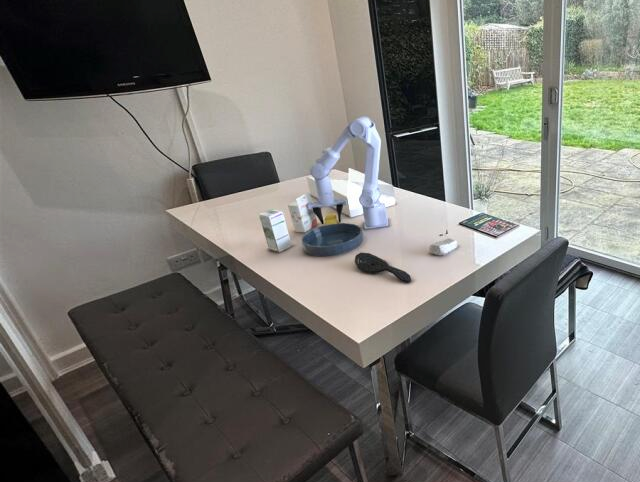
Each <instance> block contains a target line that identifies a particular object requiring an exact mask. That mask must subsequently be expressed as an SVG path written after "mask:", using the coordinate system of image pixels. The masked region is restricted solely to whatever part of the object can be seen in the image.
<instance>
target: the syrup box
mask: <svg viewBox="0 0 640 482" xmlns="http://www.w3.org/2000/svg"><path fill="white" fill-rule="evenodd" d="M258 217H259V220H260V224H261V227H262V229H263V230H262V231H263V233H264V238H265V241H266V243H267V247H268V250H269V251H273V252H277V253H281V252H284V251H285V250H287V249H290V248H291V247H292V242H291V238H290V234H289V230H288V227H287V223H286V218H285V216H284V211H282V210H278V209H269V210H265V211H263V212H261V213H259V214H258Z"/></svg>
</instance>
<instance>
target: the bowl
mask: <svg viewBox="0 0 640 482" xmlns="http://www.w3.org/2000/svg"><path fill="white" fill-rule="evenodd" d="M363 241H364V232H363V229H362V227H361V226H360V225H358V224H354V223H349V222H337V224H330V225H325V224H324V225H322V226H319V227H316V228H312V229H310V230H308V231H306V232H305V234H303V236H302V237H301V244H302V249H303V251H304V252H305V253H306V254H308V255H310V256H315V257H333V256H339V255H342V254H345V253H348V252H351V251H353V250H355V249H357V248H358V247H359V246H360V245H362V243H363Z"/></svg>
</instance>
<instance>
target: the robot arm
mask: <svg viewBox="0 0 640 482" xmlns="http://www.w3.org/2000/svg"><path fill="white" fill-rule="evenodd" d="M354 138H358V139H359V140H361V141H362V142H363V143H364V144H365V145H366V153H365V154H366V155H365V170H364V174H365V180H364V186H363V189H362V194H361V195H360V197H359V202H360V204H361V205H362V208H363V214H362V215H363V219H364V222H363V223H364V225H363V226H364V227H363V228H364V229H365V230H369V229H377V228H383V227H388V226H389V216H388V213H387V207H386V206H385V203H380V201H379V197H380V190H379V184H378V180H379V171H380V159H381V149H382V148H381V147H382V139H381V136H380V134H379V132H378V130H377V128H376V123H375V122H374V121H373V120H371V118H370V117H368V116H365V115H364V116H363V115H361V116H359V117H357V118H356V119H354V120H352V121H350V122H349V124H348V125H346V127H345V128H344V129H343V131H342V132H341V133H340V135H339V137H338V138H337V139H336V141H335V142H334V143H333V145H332V146H331V147H326V148H324V149H323V150H322V151H321V156H320V157H319V158H316V160H315V162H316V163H315V164H313V165H311V167H310V170H309V172H310V175H311V177H314V179H315V184H316V189H317V193H318V198H319V199H318V198H317V199H318V201H315V202H313V203H308V209H312V208H313V212H314V213H315V215H316V218H318V220H319V222H320V224H321V225H322V226H324V225H325V221H324V218H323V212H322V208H328V207H332V206H336V209H335V211H336V213H337V214H336V215H337V222H338V223H342V208H343V205H347V202H346V199H343V200H334V195H333V190H332V185H331V180H330V179H331V177H330V175H331V171H332V169H333V168H334V167H335V165H336V164H337V162H338V161H339V160H340V159H341V153H340V152H341V151H342V150H343V149H344V148H345V146H346V145H347V144H348V143H349V142H350V141H351V139H354Z"/></svg>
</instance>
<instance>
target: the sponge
mask: <svg viewBox="0 0 640 482" xmlns="http://www.w3.org/2000/svg"><path fill="white" fill-rule="evenodd" d="M336 213H337V212H335V213H327V214H325V215H324V216H325V217H324V219H323V221H324V226H325V225H330V224H337V223H338V216H337V214H336Z"/></svg>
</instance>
